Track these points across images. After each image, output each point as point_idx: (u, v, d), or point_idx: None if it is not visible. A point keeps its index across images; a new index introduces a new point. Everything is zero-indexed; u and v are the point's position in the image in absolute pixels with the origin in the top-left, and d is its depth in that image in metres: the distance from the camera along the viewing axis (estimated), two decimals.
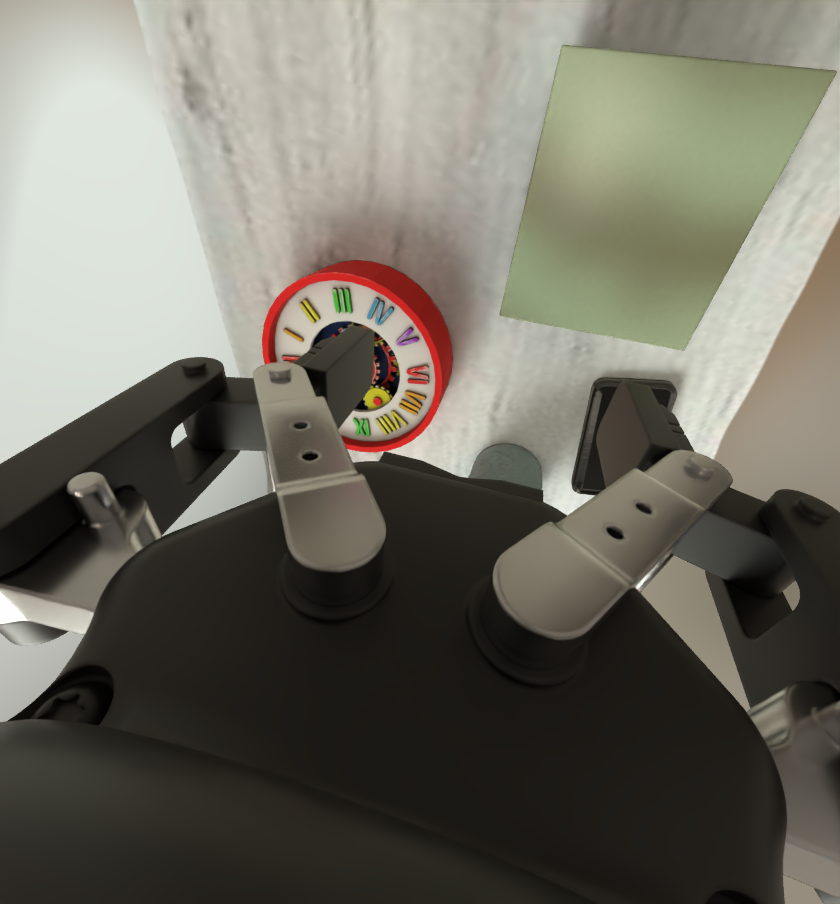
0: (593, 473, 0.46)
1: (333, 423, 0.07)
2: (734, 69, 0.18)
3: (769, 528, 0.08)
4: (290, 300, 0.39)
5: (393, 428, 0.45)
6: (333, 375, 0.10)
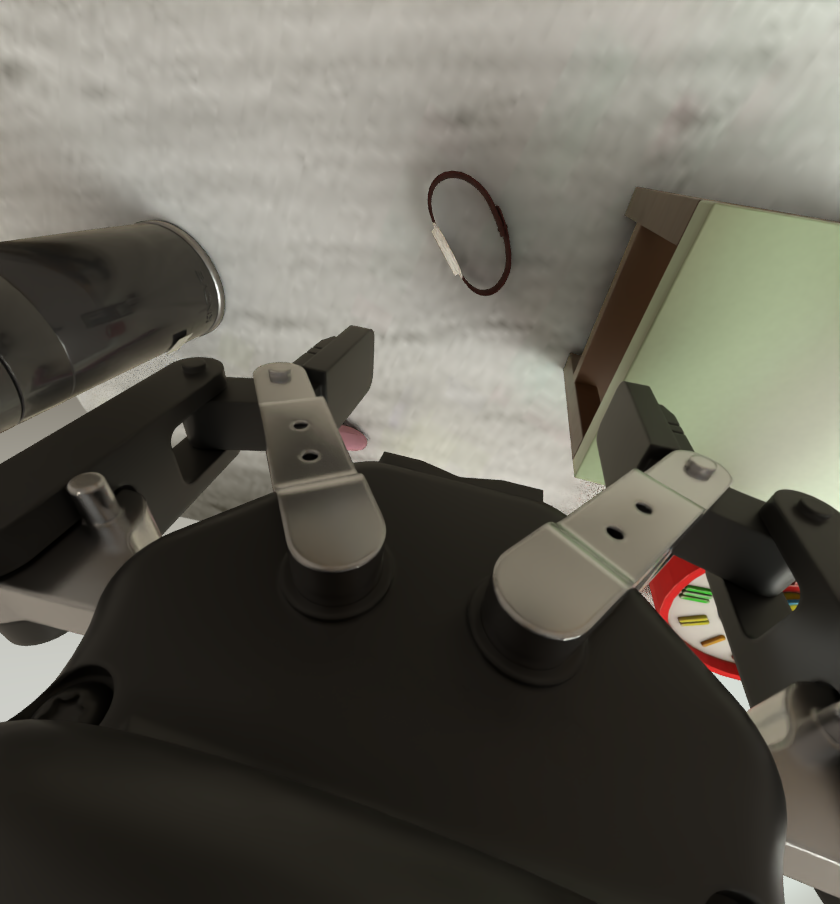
0: None
1: (333, 423, 0.07)
2: (658, 329, 0.15)
3: (769, 528, 0.08)
4: (673, 628, 0.37)
5: None
6: (333, 375, 0.10)
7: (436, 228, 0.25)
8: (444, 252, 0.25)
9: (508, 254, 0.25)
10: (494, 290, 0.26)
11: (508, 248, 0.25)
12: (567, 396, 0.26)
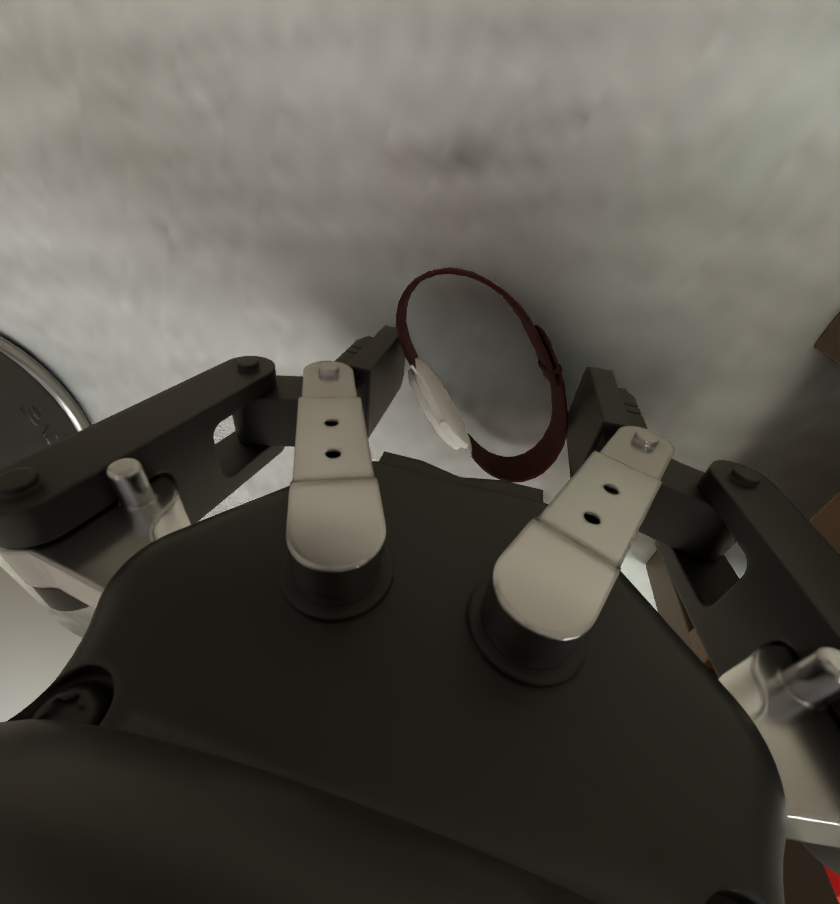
0: None
1: (363, 424, 0.07)
2: None
3: (706, 496, 0.08)
4: None
5: None
6: (375, 374, 0.11)
7: (417, 375, 0.12)
8: (434, 424, 0.12)
9: (561, 413, 0.13)
10: (532, 471, 0.14)
11: (562, 405, 0.13)
12: None
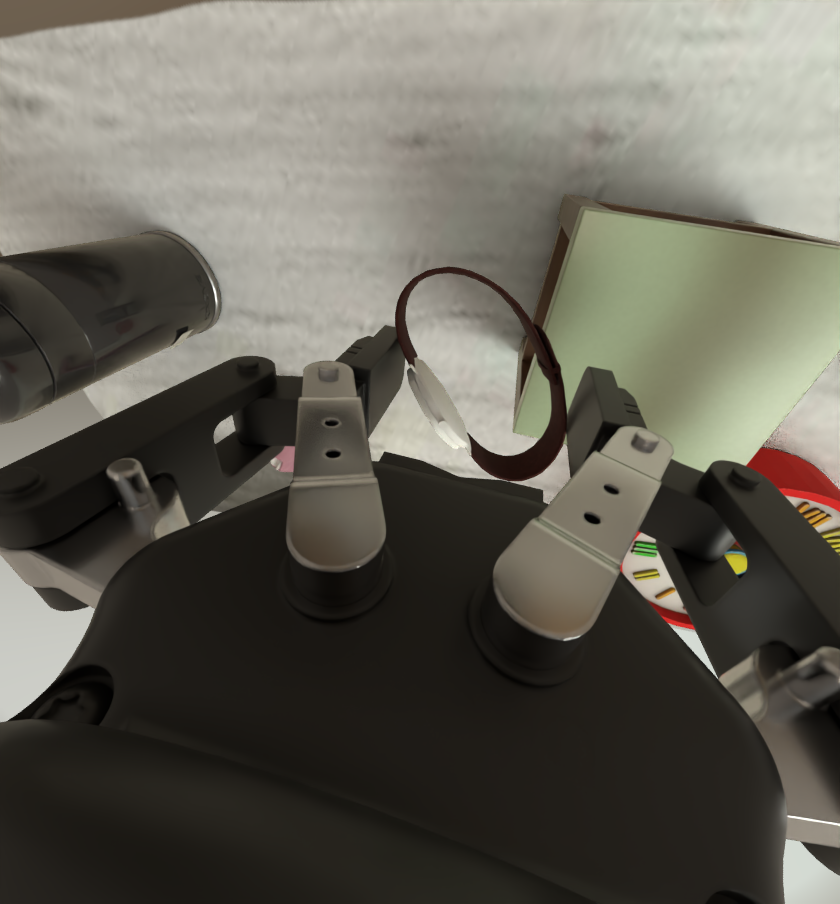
0: None
1: (363, 424, 0.07)
2: (559, 305, 0.19)
3: (706, 496, 0.08)
4: None
5: None
6: (375, 374, 0.11)
7: (416, 374, 0.12)
8: (433, 423, 0.12)
9: (560, 412, 0.13)
10: (532, 470, 0.14)
11: (561, 404, 0.13)
12: (517, 372, 0.31)
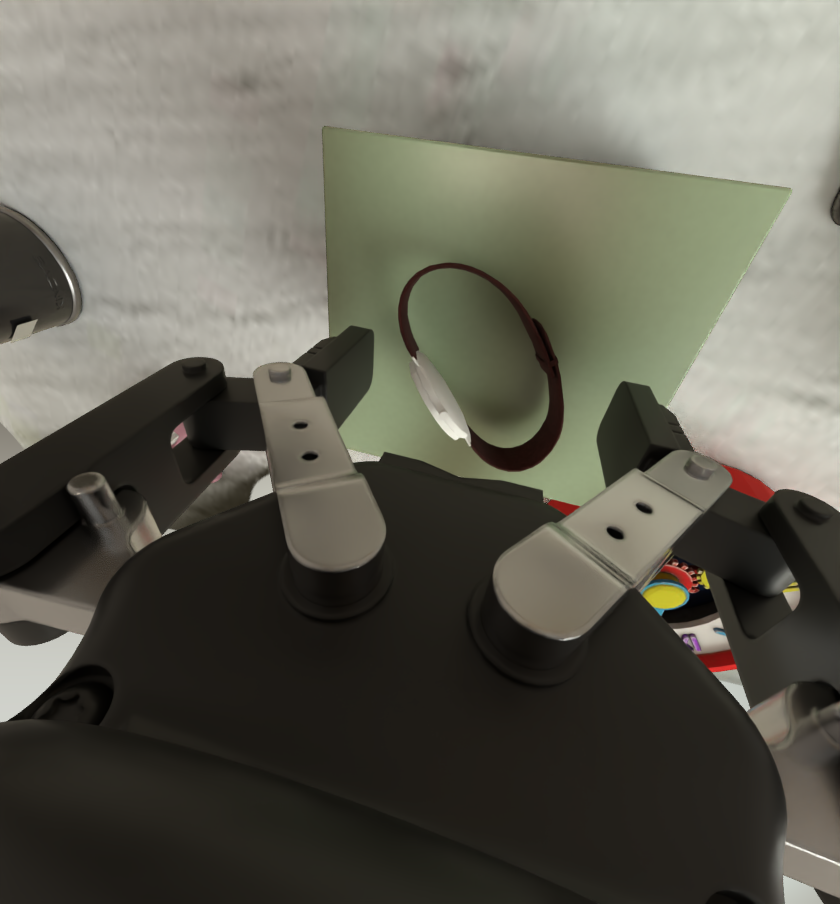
0: None
1: (333, 423, 0.07)
2: (333, 274, 0.14)
3: (769, 528, 0.08)
4: None
5: None
6: (333, 375, 0.10)
7: (418, 366, 0.12)
8: (434, 414, 0.12)
9: (558, 405, 0.13)
10: (530, 461, 0.14)
11: (558, 396, 0.13)
12: None
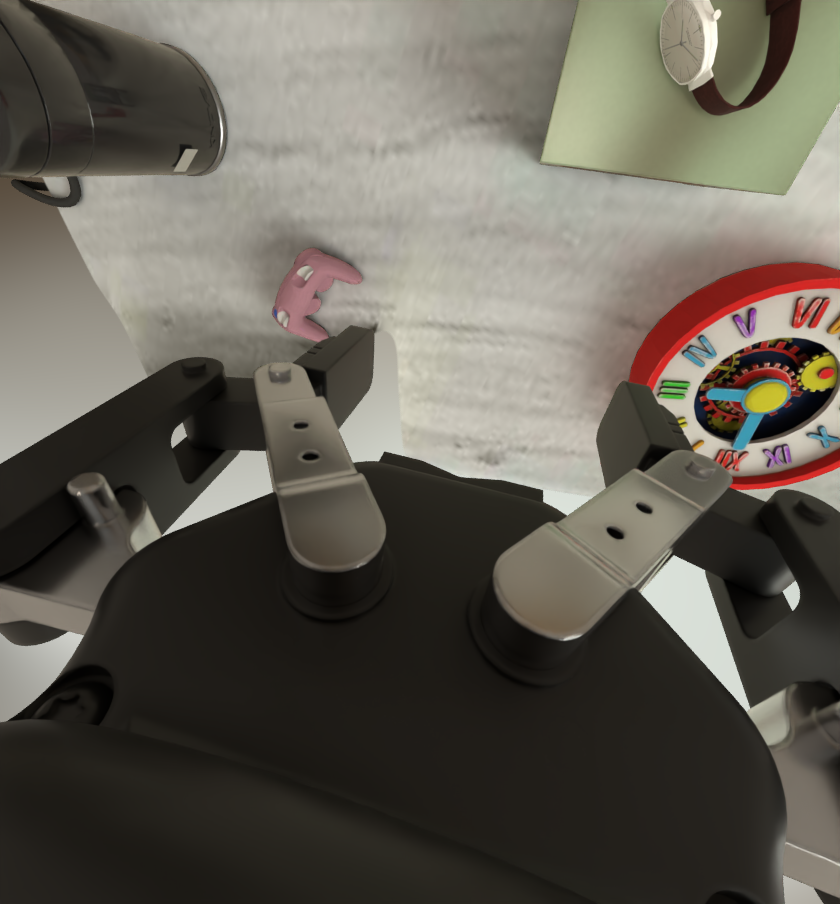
0: None
1: (333, 423, 0.07)
2: None
3: (770, 528, 0.08)
4: None
5: None
6: (333, 375, 0.10)
7: None
8: (704, 21, 0.16)
9: (789, 33, 0.17)
10: (753, 101, 0.18)
11: (794, 20, 0.16)
12: None
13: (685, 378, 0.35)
